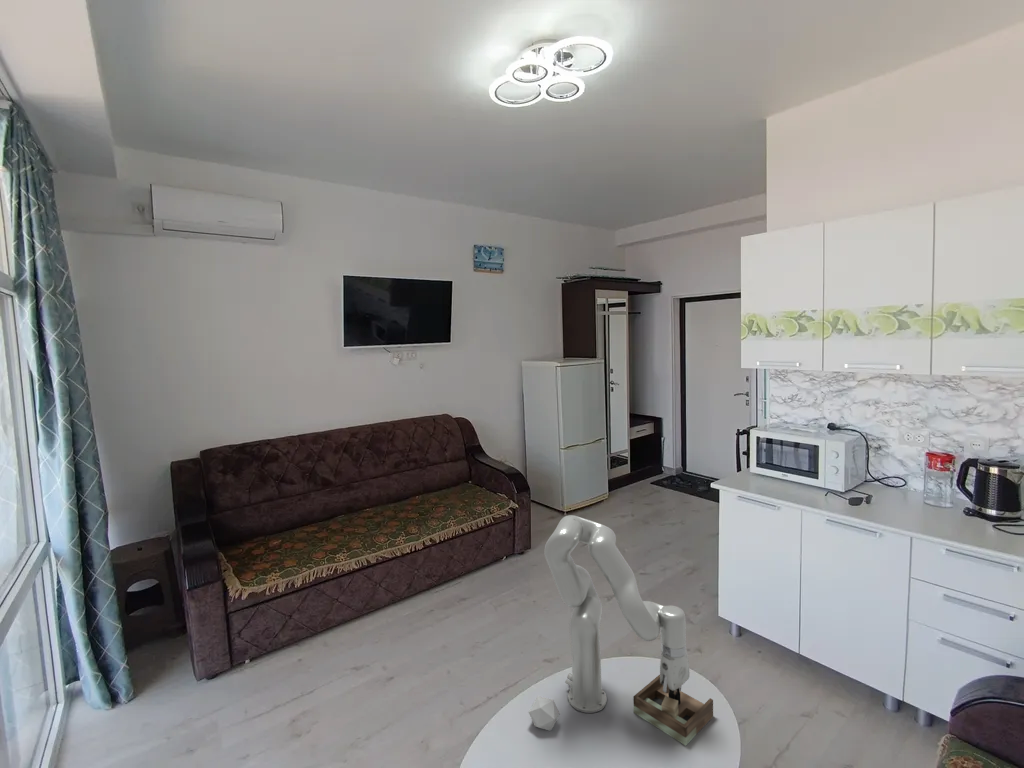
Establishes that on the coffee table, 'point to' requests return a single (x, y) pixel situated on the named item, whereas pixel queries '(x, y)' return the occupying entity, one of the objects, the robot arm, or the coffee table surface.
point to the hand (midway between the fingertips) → (674, 702)
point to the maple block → (670, 707)
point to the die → (544, 713)
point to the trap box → (682, 728)
